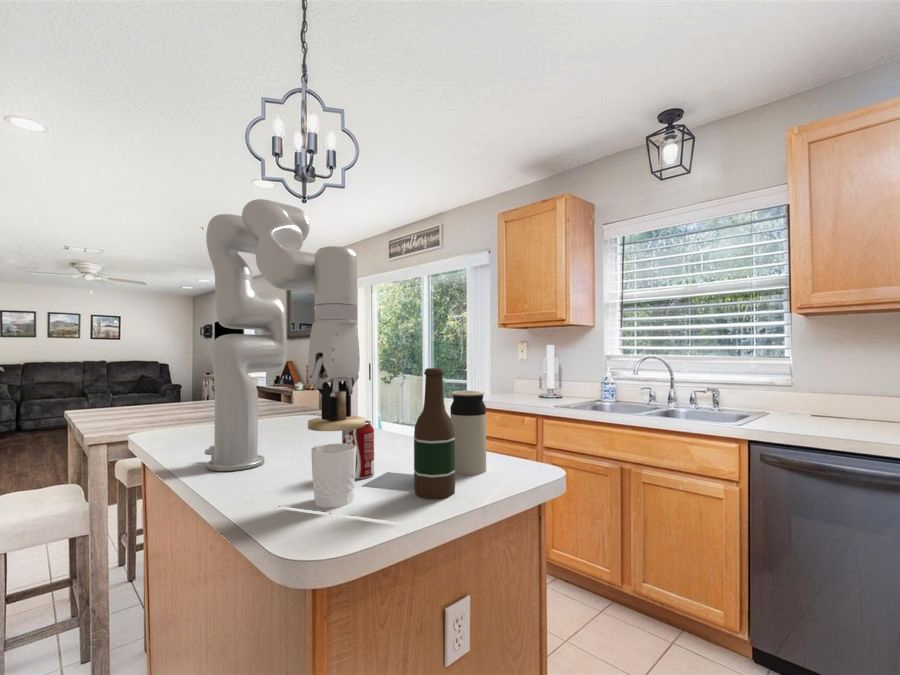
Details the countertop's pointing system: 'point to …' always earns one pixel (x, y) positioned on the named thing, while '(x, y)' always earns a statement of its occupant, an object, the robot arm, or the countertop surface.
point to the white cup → (333, 474)
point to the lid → (342, 421)
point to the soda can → (362, 449)
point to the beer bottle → (434, 443)
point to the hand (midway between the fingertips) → (336, 417)
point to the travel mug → (469, 432)
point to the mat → (393, 482)
